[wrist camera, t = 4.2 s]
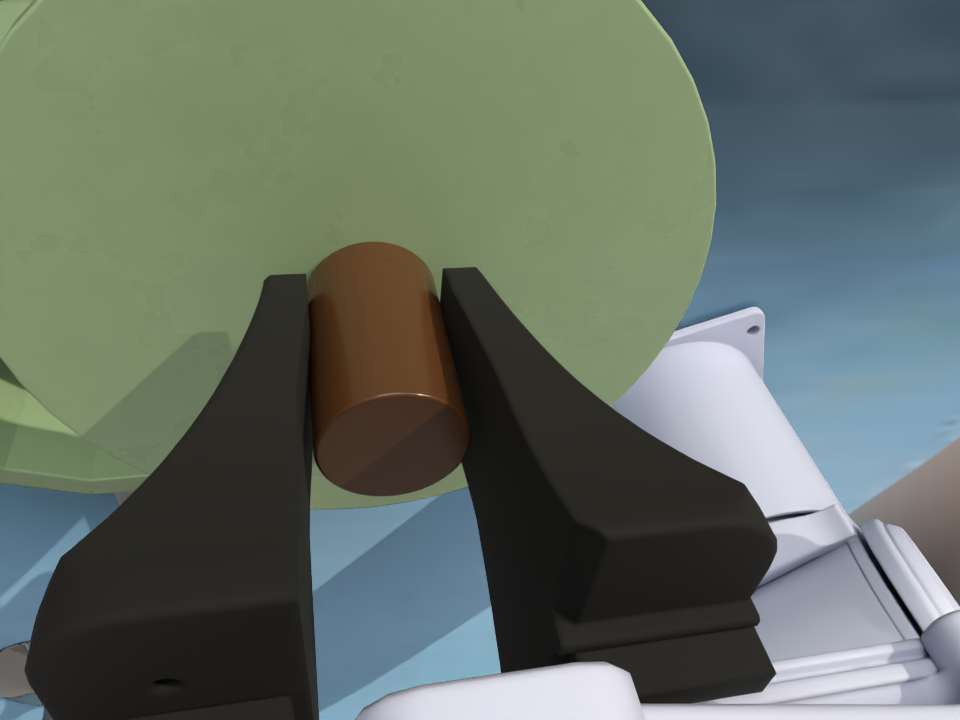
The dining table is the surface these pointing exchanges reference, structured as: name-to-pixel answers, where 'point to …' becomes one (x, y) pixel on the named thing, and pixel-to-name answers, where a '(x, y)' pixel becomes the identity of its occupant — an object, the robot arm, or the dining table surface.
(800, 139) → the dining table surface
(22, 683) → the wine glass
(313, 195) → the pot lid
